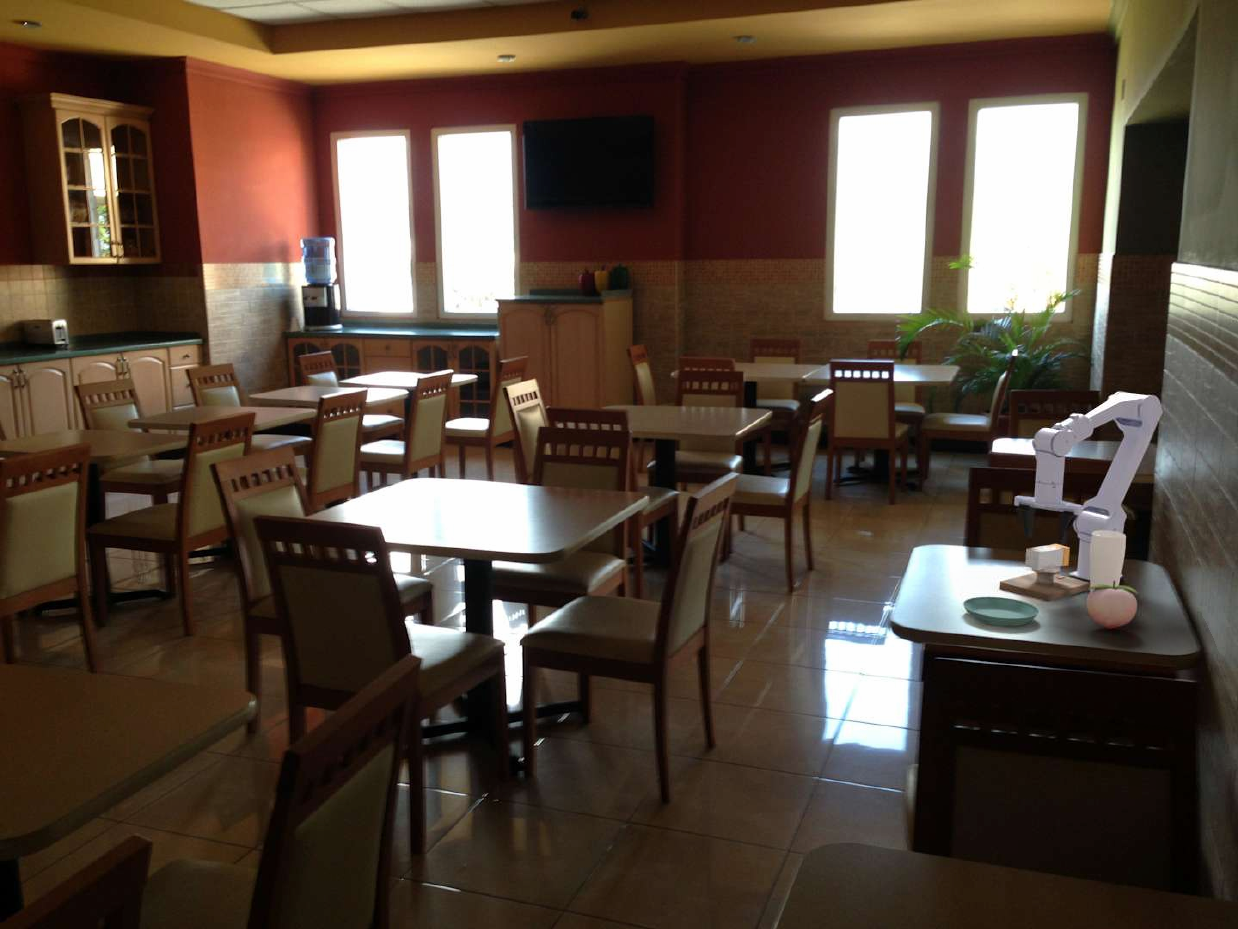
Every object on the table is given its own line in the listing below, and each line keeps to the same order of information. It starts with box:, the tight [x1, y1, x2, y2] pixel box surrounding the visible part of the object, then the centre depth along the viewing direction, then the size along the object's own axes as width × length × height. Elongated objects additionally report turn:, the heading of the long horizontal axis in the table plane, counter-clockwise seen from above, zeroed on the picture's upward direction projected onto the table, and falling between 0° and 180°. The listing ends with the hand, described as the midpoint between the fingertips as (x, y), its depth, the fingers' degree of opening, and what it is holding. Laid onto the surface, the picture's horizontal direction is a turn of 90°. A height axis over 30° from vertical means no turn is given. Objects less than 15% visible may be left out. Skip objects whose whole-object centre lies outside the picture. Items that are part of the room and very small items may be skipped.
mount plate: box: [998, 572, 1090, 602], centre depth 232 cm, size 16×12×4 cm
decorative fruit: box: [1086, 581, 1140, 630], centre depth 205 cm, size 9×8×10 cm
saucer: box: [962, 596, 1040, 627], centre depth 212 cm, size 15×15×3 cm
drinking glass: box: [1089, 530, 1127, 593], centre depth 223 cm, size 7×7×15 cm
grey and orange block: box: [1024, 543, 1070, 575], centre depth 232 cm, size 6×9×5 cm, turn 116°
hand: (1045, 540), depth 234 cm, fingers open, 7 cm apart
